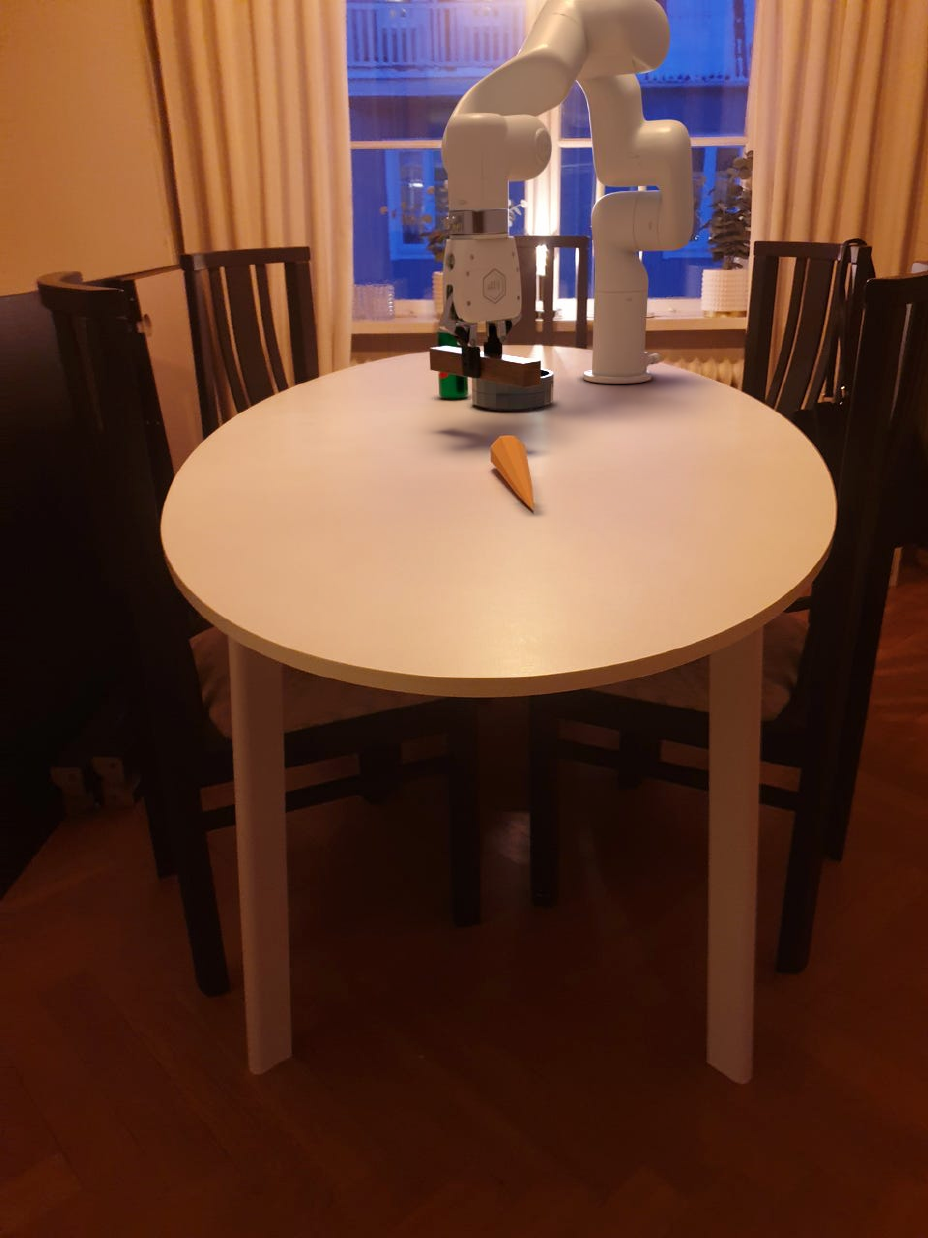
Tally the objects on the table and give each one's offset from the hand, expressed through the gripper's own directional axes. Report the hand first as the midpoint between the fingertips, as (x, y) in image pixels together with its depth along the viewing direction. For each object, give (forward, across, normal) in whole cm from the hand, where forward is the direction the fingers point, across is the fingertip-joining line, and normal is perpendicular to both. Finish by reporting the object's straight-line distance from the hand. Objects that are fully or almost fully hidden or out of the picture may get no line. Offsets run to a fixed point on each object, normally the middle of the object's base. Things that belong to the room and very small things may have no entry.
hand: (482, 373), depth 121 cm
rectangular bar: (0, 0, 0) cm, 0 cm away
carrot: (+9, -12, -21) cm, 26 cm away
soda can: (+10, +16, +29) cm, 35 cm away
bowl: (+9, +20, +17) cm, 27 cm away
